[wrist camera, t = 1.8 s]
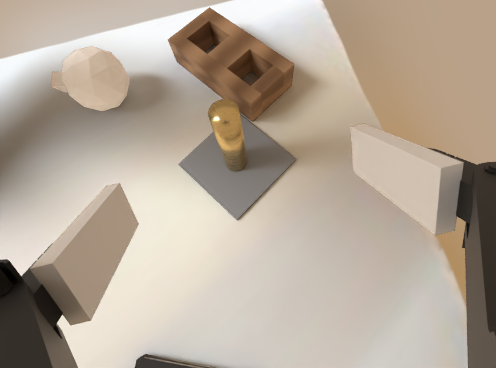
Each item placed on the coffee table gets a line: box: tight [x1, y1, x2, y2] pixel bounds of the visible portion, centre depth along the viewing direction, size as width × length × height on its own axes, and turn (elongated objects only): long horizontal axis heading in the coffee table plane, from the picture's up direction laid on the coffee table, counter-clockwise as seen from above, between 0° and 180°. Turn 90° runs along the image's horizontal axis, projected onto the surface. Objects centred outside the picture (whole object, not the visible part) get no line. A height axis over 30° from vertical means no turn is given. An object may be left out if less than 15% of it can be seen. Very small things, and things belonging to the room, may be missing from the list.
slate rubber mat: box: [179, 115, 296, 220], centre depth 39 cm, size 12×12×1 cm
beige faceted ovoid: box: [51, 47, 130, 111], centre depth 41 cm, size 9×9×12 cm
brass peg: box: [208, 99, 248, 172], centre depth 33 cm, size 3×3×12 cm
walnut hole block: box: [168, 8, 294, 122], centre depth 43 cm, size 18×9×4 cm, turn 46°
